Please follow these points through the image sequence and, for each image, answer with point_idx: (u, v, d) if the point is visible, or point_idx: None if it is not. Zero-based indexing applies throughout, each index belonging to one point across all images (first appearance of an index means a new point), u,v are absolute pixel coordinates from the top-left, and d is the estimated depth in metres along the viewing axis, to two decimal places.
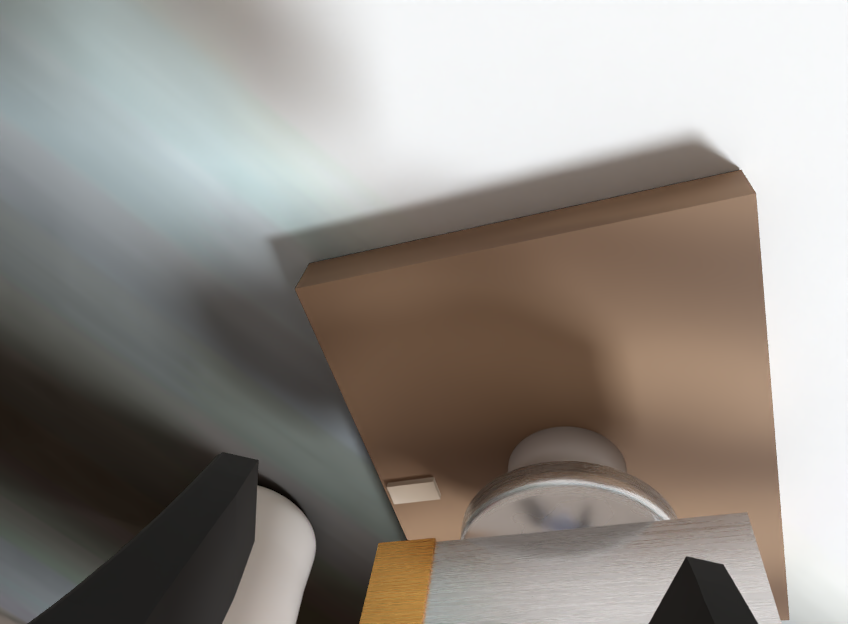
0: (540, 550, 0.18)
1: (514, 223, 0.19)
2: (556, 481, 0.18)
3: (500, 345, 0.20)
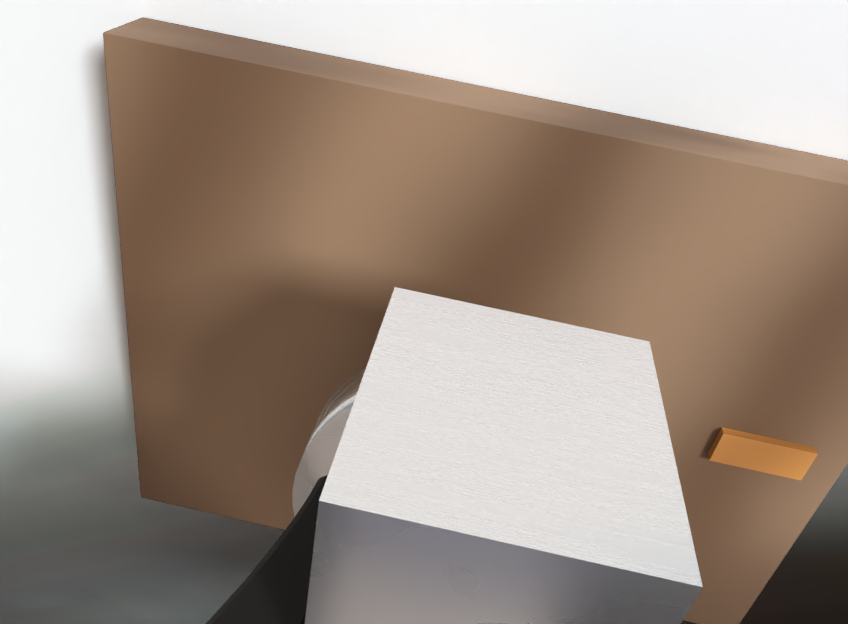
0: None
1: None
2: None
3: (255, 371, 0.16)
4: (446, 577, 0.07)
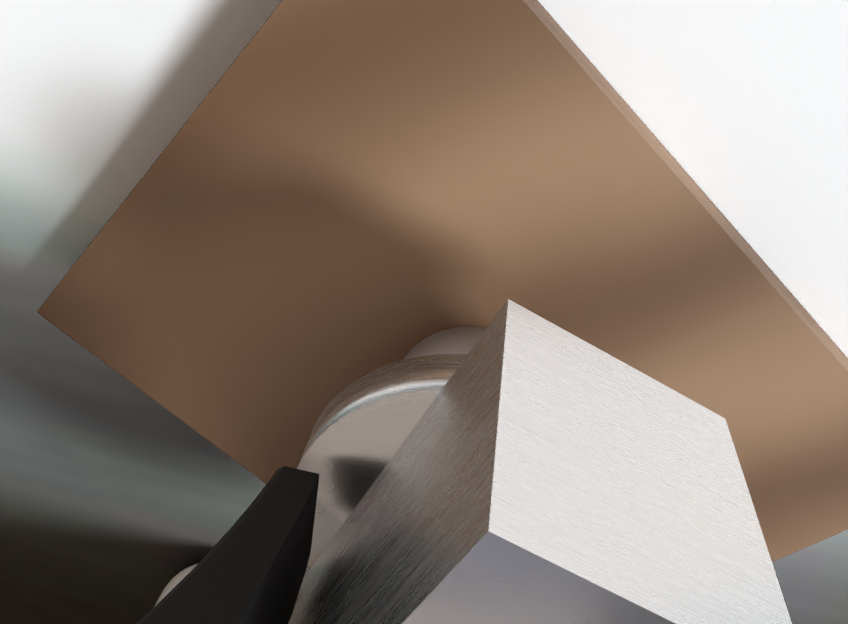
0: (347, 533, 0.12)
1: None
2: (316, 431, 0.12)
3: (276, 266, 0.15)
4: None
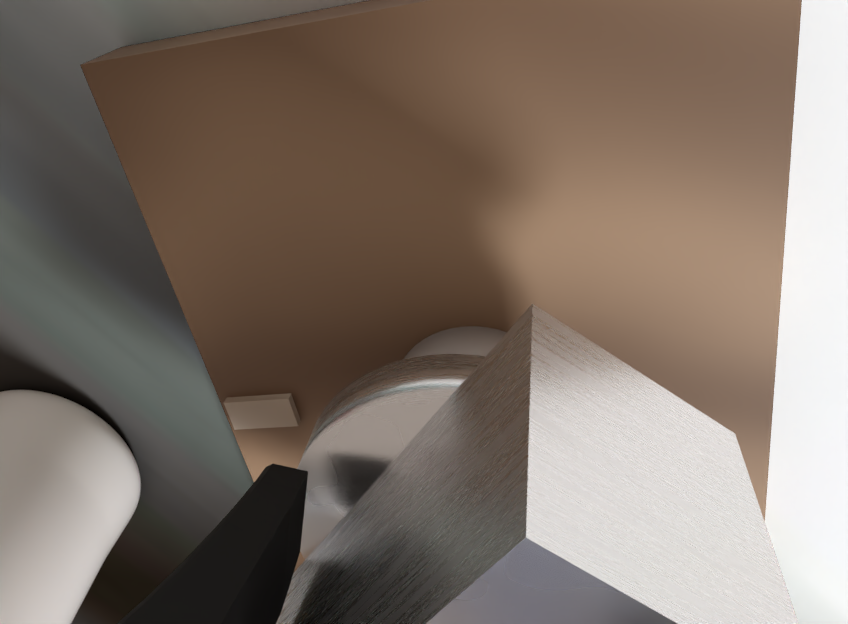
0: (349, 527, 0.12)
1: None
2: (322, 424, 0.12)
3: (390, 186, 0.13)
4: None
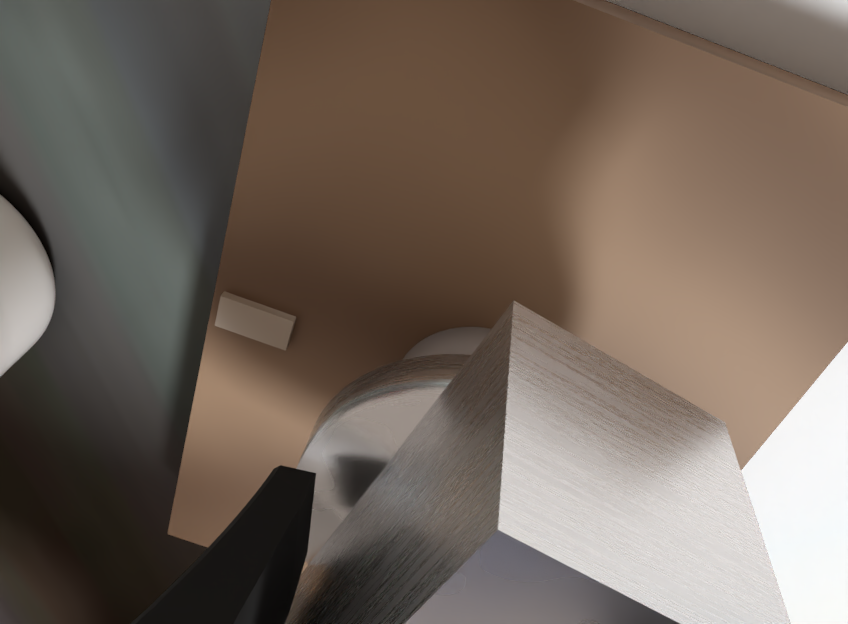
0: (347, 530, 0.12)
1: (655, 22, 0.12)
2: (318, 429, 0.12)
3: (528, 180, 0.13)
4: None
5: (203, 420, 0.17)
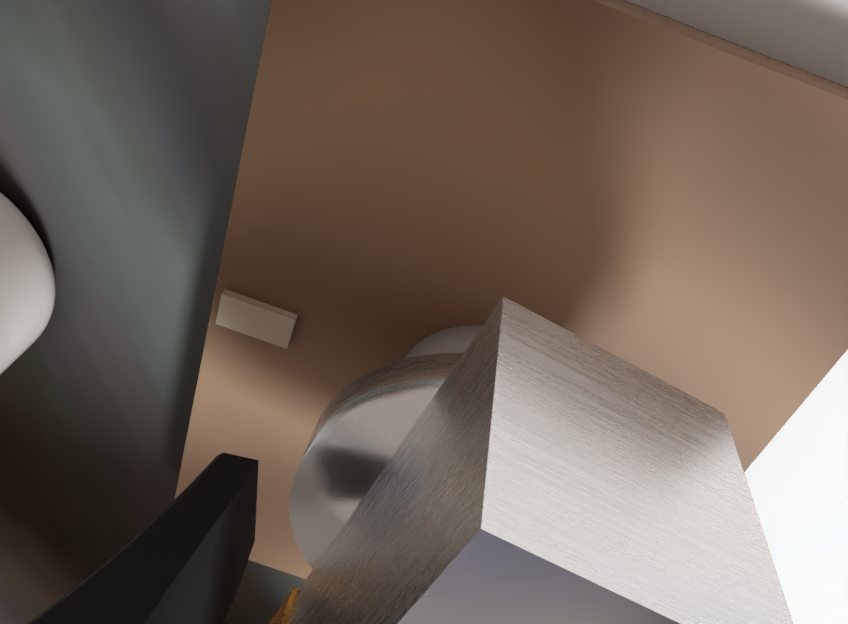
0: (348, 534, 0.12)
1: (661, 17, 0.12)
2: (316, 432, 0.12)
3: (532, 177, 0.13)
4: None
5: (204, 419, 0.17)
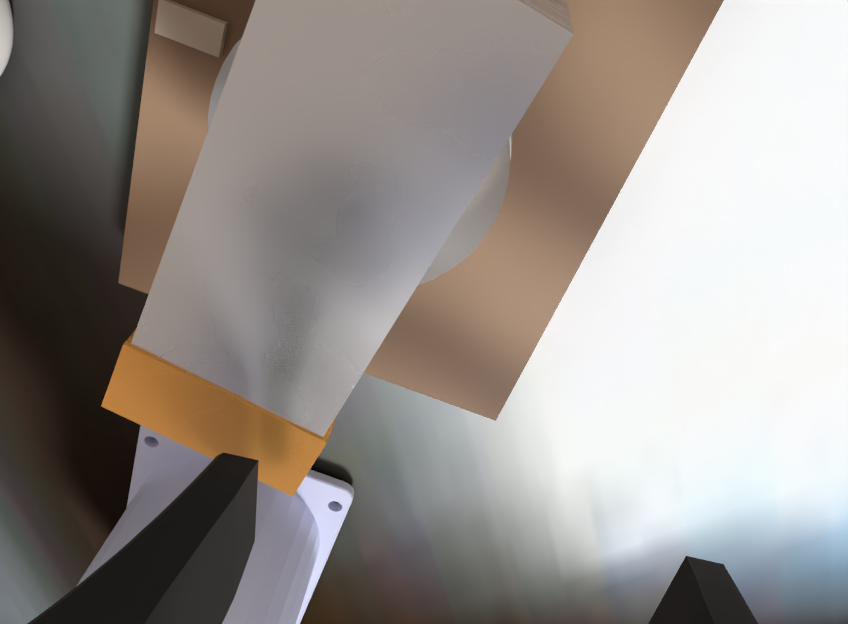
0: None
1: None
2: None
3: None
4: None
5: (147, 147, 0.19)
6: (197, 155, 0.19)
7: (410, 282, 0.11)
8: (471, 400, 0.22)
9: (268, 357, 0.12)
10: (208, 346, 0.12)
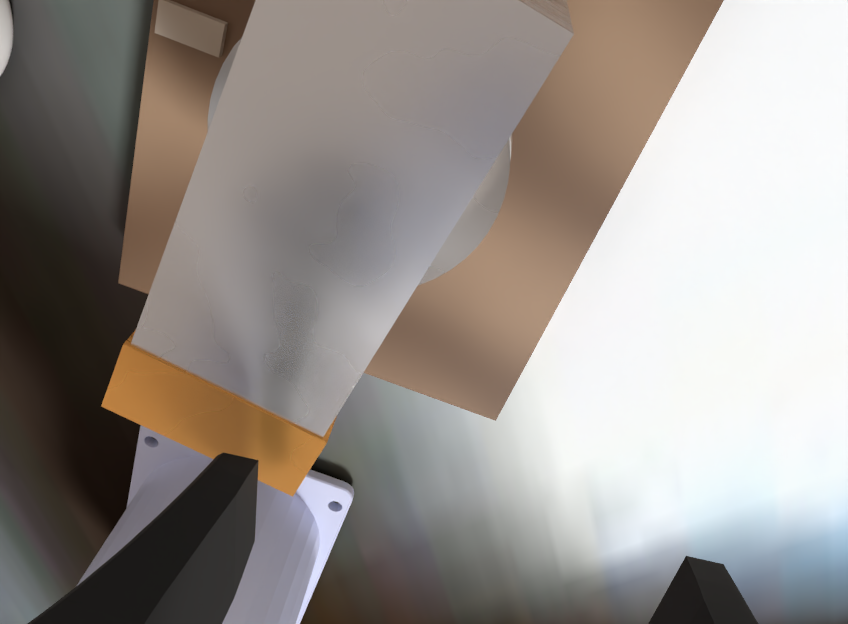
0: None
1: None
2: None
3: None
4: None
5: (147, 147, 0.19)
6: (197, 155, 0.19)
7: (410, 282, 0.11)
8: (471, 400, 0.22)
9: (268, 357, 0.12)
10: (208, 346, 0.12)
